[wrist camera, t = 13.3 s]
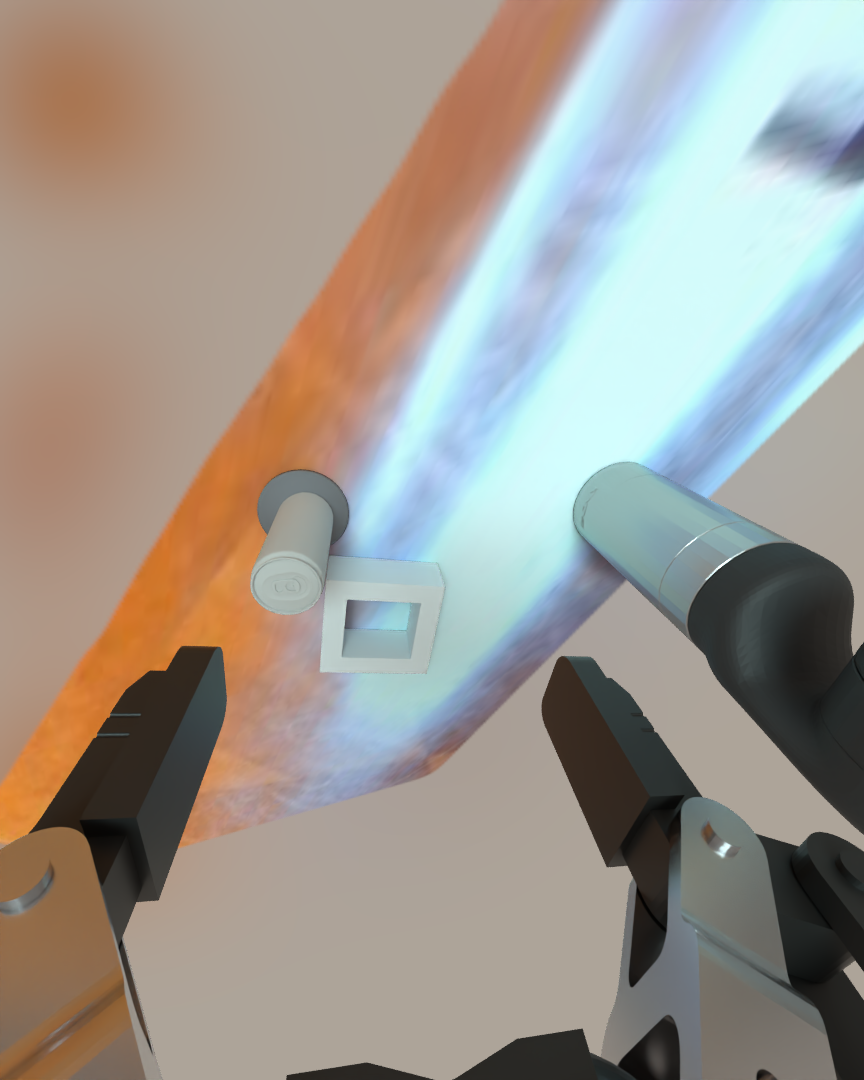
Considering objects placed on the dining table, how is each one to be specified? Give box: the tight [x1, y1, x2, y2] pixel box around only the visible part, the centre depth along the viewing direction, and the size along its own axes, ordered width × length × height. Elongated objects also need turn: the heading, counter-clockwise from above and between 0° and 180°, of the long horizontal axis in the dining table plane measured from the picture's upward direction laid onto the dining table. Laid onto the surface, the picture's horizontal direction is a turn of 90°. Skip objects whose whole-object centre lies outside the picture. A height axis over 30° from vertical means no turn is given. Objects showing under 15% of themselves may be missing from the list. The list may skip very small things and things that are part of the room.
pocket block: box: [320, 555, 445, 674], centre depth 43 cm, size 11×11×4 cm
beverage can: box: [250, 492, 333, 615], centre depth 33 cm, size 5×5×12 cm
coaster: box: [257, 469, 348, 545], centre depth 39 cm, size 8×8×1 cm
